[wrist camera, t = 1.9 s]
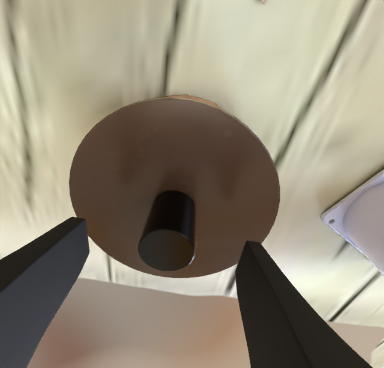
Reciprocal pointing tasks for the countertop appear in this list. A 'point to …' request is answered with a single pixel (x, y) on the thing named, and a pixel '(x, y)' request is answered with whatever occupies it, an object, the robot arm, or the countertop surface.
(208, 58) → the countertop surface
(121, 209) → the pot lid
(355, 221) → the robot arm
